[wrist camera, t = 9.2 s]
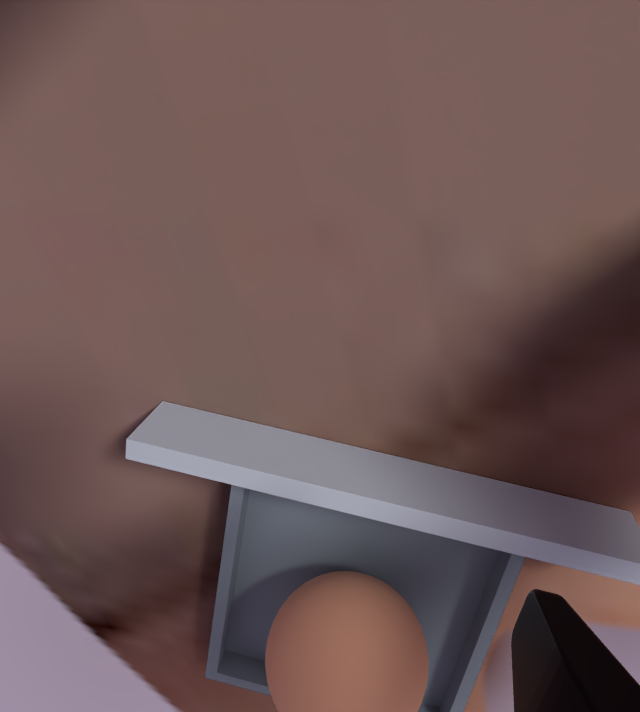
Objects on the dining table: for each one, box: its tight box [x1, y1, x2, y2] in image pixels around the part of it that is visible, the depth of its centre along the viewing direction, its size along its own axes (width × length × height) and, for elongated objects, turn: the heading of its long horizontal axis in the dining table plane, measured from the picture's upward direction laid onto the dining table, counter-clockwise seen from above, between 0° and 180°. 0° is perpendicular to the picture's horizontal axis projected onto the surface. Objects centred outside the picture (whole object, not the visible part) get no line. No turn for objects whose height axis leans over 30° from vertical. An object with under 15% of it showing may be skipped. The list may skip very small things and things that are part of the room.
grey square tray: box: [205, 485, 525, 712], centre depth 23 cm, size 11×11×2 cm
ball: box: [265, 571, 429, 712], centre depth 21 cm, size 6×6×6 cm
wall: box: [125, 401, 640, 585], centre depth 20 cm, size 18×1×3 cm, turn 80°
